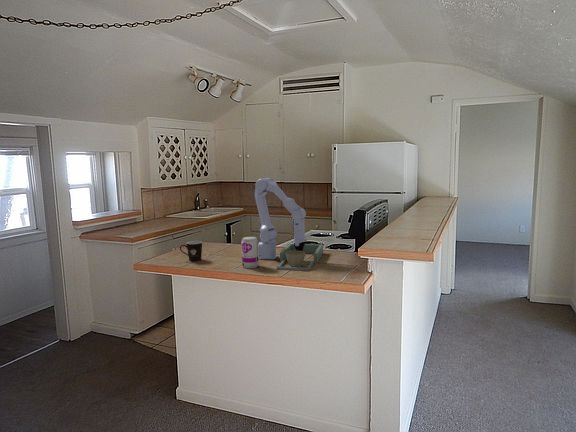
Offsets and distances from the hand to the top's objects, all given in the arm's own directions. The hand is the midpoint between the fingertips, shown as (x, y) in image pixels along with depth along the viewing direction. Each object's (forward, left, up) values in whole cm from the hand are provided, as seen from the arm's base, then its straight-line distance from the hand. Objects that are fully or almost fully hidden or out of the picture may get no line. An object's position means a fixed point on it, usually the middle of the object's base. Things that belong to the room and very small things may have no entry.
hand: (299, 256), depth 228 cm
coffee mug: (-59, -6, -3) cm, 59 cm away
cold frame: (0, +6, -2) cm, 7 cm away
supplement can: (-23, -15, -3) cm, 27 cm away
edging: (0, -11, -2) cm, 11 cm away
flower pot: (0, -12, -3) cm, 12 cm away
